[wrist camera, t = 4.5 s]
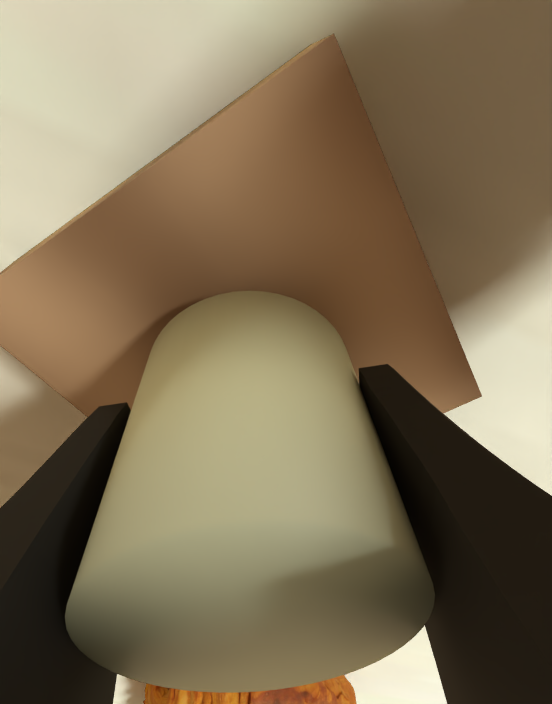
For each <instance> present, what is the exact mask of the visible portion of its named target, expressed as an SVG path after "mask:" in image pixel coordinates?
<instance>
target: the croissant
mask: <svg viewBox="0 0 552 704" xmlns="http://www.w3.org/2000/svg"><path fill="white" fill-rule="evenodd" d="M145 693H146V694H145V698H146V699H145V701H143V703H144V704H356V698H355V692H354V689H353V687H352V686H351V683H350V682H349V681H348V680H347V679H346V678H345V676H344V675H341V676H338V677H335V678H332V679H328V680H324V681H320V682H316V683H312V684H307V685H302V686H296V687H290V688H283V689H277V690H267V691H256V692H221V693H219V692H199V691H188V690H179V689H173V688H166V687H161V686H156V685H152V684H147V683H146V688H145Z"/></svg>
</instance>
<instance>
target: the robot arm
mask: <svg viewBox="0 0 552 704" xmlns="http://www.w3.org/2000/svg"><path fill="white" fill-rule="evenodd" d="M359 386H360V388H361V391H362V394H363V396H364V399H365V402H366V405H367V407H368V410H369V413H370V415H371V418H372V421H373V423H374V426H375V428H376V431H377V434H378V436H379V439H380V442H381V444H382V447H383V450H384V453H385V455H386V458H387V461H388V463H389V466H390V469H391V471H392V474H393V477H394V480H395V482H396V485H397V488H398V490H399V493H400V496H401V499H402V501H403V504H404V507H405V509H406V512H407V515H408V517H409V520H410V523H411V526H412V528H413V531H414V534H415V536H416V539H417V542H418V545H419V547H420V550H421V553H422V555H423V558H424V561H425V564H426V566H427V569H428V572H429V574H430V577H431V580H432V582H433V587H434V592H435V600H434V607H433V610H432V612H431V615H430V617H429V619H428V620H427V622H426V623H425V627H426V631H427V634H428V637H429V641H430V644H431V648H432V651H433V655H434V658H435V661H436V665H437V668H438V672H439V675H440V679H441V683H442V686H443V690H444V693H445V697H446V700H447V704H552V496H551V495H550V494H548V493H547V492H545V491H544V490H542V489H541V488H539V487H538V486H536V485H535V484H533V483H532V482H531V481H529V480H528V479H526V478H525V477H523V476H522V475H521V474H519V473H518V472H517V471H515V470H514V469H512V468H511V467H510V466H508V465H507V464H506V463H504V462H503V461H502V460H500V459H499V458H498V457H496V456H495V455H494V454H492V453H491V452H490V451H488V450H487V449H486V448H485V447H483V446H482V445H481V444H479V443H478V442H477V441H476V440H474V439H473V438H472V437H471V436H469V435H468V434H467V433H466V432H465V431H463V430H462V429H461V428H460V427H459V426H457V425H456V424H455V423H454V422H453V421H451V420H450V419H449V418H448V417H447V416H445V415H444V414H443V413H442V412H441V411H440V410H438V409H437V408H436V407H435V406H434V405H433V404H432V403H430V402H429V401H428V400H427V399H426V398H425V397H424V396H423V395H422V394H420V393H419V392H418V391H417V390H416V389H415V388H414V387H413V386H412V385H411V384H410V383H408V382H407V381H406V380H405V379H404V378H403V377H402V376H401V375H400V374H399V373H398V372H397V371H396V370H395V369H394V368H392V367H391V366H390V365H389V364H383V365H377V366H370V367H363V368H359ZM130 412H131V410H130V407H129V405H128V403H127V402H125V403H118V404H112V405H105V406H99V407H98V408H97V409H96V410H95V411H94V412H93V413H92V414H91V415H90V416H89V417H88V418H87V419H86V420H85V421H84V422H83V423H82V424H81V425H80V426H79V427H78V428H77V429H76V430H75V431H74V432H73V433H72V435H71V436H70V437H69V438H68V439H67V440H66V441H65V442H64V443H63V444H62V445H61V446H60V447H59V448H58V449H57V451H56V452H55V453H54V454H53V455H52V456H51V457H50V458H49V459H48V460H47V461H46V462H45V463H44V464H43V465H42V466H41V467H40V468H39V469H38V471H37V472H36V473H35V474H34V475H33V476H32V477H31V478H30V479H29V480H28V481H27V482H26V483H25V484H24V485H23V486H22V487H21V488H20V489H19V490H18V491H17V492H16V493H15V494H14V495H13V496H12V497H11V498H10V499H9V500H8V501H7V502H6V503H5V504H4V505H3V506H2V507H1V508H0V704H113V698H114V691H115V684H116V677H117V673H114V672H112V671H110V670H108V669H106V668H104V667H102V666H100V665H99V664H97V663H96V662H94V661H93V660H91V659H89V658H88V657H87V656H86V655H85V654H84V653H83V652H81V651H80V650H79V649H78V647H77V646H76V645H75V644H74V642H73V641H72V640H71V638H70V636H69V633H68V631H67V629H66V622H65V613H66V607H67V603H68V600H69V597H70V594H71V591H72V588H73V585H74V582H75V579H76V576H77V573H78V570H79V567H80V564H81V561H82V557H83V554H84V551H85V548H86V545H87V542H88V539H89V536H90V533H91V530H92V527H93V524H94V521H95V518H96V515H97V512H98V509H99V506H100V503H101V500H102V497H103V494H104V491H105V488H106V485H107V482H108V479H109V476H110V473H111V470H112V467H113V464H114V461H115V458H116V455H117V452H118V449H119V446H120V443H121V439H122V436H123V433H124V430H125V427H126V424H127V421H128V418H129V415H130Z"/></svg>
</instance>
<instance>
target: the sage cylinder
mask: <svg viewBox="0 0 552 704" xmlns="http://www.w3.org/2000/svg"><path fill="white" fill-rule="evenodd" d="M434 600H435V592H434V587H433V582H432V580H431V577H430V574H429V572H428V569H427V566H426V564H425V561H424V558H423V555H422V553H421V550H420V547H419V545H418V542H417V539H416V536H415V534H414V531H413V528H412V526H411V523H410V520H409V517H408V515H407V512H406V509H405V507H404V504H403V501H402V499H401V496H400V493H399V490H398V488H397V485H396V482H395V480H394V477H393V474H392V471H391V469H390V466H389V463H388V461H387V458H386V455H385V453H384V450H383V447H382V444H381V442H380V439H379V436H378V434H377V431H376V428H375V426H374V423H373V421H372V418H371V415H370V413H369V410H368V407H367V405H366V402H365V399H364V396H363V394H362V391H361V388H360V386H359V382H358V379H357V377H356V374H355V371H354V369H353V366H352V363H351V360H350V358H349V355H348V352H347V350H346V347H345V345H344V343H343V340H342V338H341V337H340V335H339V334H338V332H337V331H336V329H335V328H334V327H333V325H332V324H331V323H330V322H329V321H328V320H327V319H326V318H325V317H324V316H322V315H321V314H320V313H319V312H318V311H316V310H315V309H313V308H311V307H310V306H308V305H306V304H305V303H302V302H300V301H298V300H296V299H293V298H290V297H287V296H284V295H280V294H276V293H270V292H264V291H237V292H229V293H224V294H219V295H216V296H213V297H209V298H206V299H204V300H202V301H199V302H197V303H195V304H193V305H191V306H189V307H188V308H186V309H185V310H183V311H182V312H180V313H179V314H178V315H176V316H175V317H174V318H173V319H172V320H171V321H170V322H169V323H168V324H167V325H166V326H165V327H164V328H163V330H162V331H161V332H160V334H159V335H158V337H157V339H156V340H155V342H154V345H153V347H152V349H151V352H150V355H149V358H148V361H147V364H146V367H145V370H144V373H143V376H142V379H141V382H140V385H139V388H138V391H137V394H136V397H135V400H134V403H133V406H132V409H131V412H130V415H129V418H128V421H127V424H126V427H125V430H124V433H123V436H122V439H121V443H120V446H119V449H118V452H117V455H116V458H115V461H114V464H113V467H112V470H111V473H110V476H109V479H108V482H107V485H106V488H105V491H104V494H103V497H102V500H101V503H100V506H99V509H98V512H97V515H96V518H95V521H94V524H93V527H92V530H91V533H90V536H89V539H88V542H87V545H86V548H85V551H84V554H83V557H82V561H81V564H80V567H79V570H78V573H77V576H76V579H75V582H74V585H73V588H72V591H71V594H70V597H69V600H68V603H67V607H66V613H65V622H66V629H67V631H68V633H69V636H70V638H71V640H72V641H73V642H74V644H75V645H76V646H77V647H78V649H79V650H80V651H81V652H83V653H84V654H85V655H86V656H87V657H88V658H89V659H91V660H93V661H94V662H96V663H97V664H99V665H100V666H102V667H104V668H106V669H108V670H110V671H112V672H114V673H117V674H119V675H122V676H125V677H127V678H130V679H133V680H137V681H140V682H144V683H147V684H152V685H156V686H161V687H166V688H173V689H179V690H188V691H199V692H219V693H221V692H256V691H267V690H277V689H283V688H290V687H296V686H302V685H307V684H312V683H316V682H320V681H324V680H328V679H332V678H335V677H338V676H341V675H345V674H348V673H350V672H353V671H356V670H358V669H361V668H364V667H366V666H368V665H370V664H372V663H375V662H377V661H379V660H381V659H383V658H384V657H386V656H388V655H390V654H392V653H393V652H395V651H396V650H398V649H399V648H401V647H402V646H404V645H405V644H406V643H407V642H408V641H410V640H411V639H412V638H413V637H414V636H415V635H416V634H417V633H418V632H419V631H420V630H421V629H422V628H423V627H424V625H425V623H426V622H427V620H428V619H429V617H430V615H431V612H432V610H433V607H434Z"/></svg>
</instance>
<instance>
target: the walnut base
mask: <svg viewBox="0 0 552 704" xmlns="http://www.w3.org/2000/svg"><path fill="white" fill-rule="evenodd" d="M237 291H264V292H270V293H276V294H280V295H284V296H287V297H290V298H293V299H296V300H298V301H300V302H302V303H305V304H306V305H308V306H310V307H311V308H313V309H315V310H316V311H318V312H319V313H320V314H321V315H322V316H324V317H325V318H326V319H327V320H328V321H329V322H330V323H331V324H332V325H333V327H334V328H335V329H336V331H337V332H338V334H339V335H340V337H341V338H342V340H343V343H344V345H345V347H346V350H347V352H348V355H349V358H350V360H351V363H352V366H353V369H354V371H355V374H356V377H357V379H358V382H359V368H363V367H370V366H377V365H383V364H389V365H390V366H391V367H392V368H394V369H395V370H396V371H397V372H398V373H399V374H400V375H401V376H402V377H403V378H404V379H405V380H406V381H407V382H408V383H410V384H411V385H412V386H413V387H414V388H415V389H416V390H417V391H418V392H419V393H420V394H422V395H423V396H424V397H425V398H426V399H427V400H428V401H429V402H430V403H432V404H433V405H434V406H435V407H436V408H437V409H438V410H440V411H441V412H442V413H445V412H447V411H450V410H452V409H454V408H457V407H459V406H461V405H463V404H466V403H468V402H470V401H472V400H475V399H477V398H479V397H481V396H482V395H481V393H480V390H479V388H478V385H477V383H476V380H475V378H474V376H473V373H472V371H471V368H470V366H469V363H468V361H467V358H466V356H465V354H464V351H463V349H462V346H461V344H460V341H459V339H458V336H457V334H456V331H455V329H454V327H453V324H452V322H451V319H450V317H449V314H448V312H447V309H446V307H445V305H444V302H443V300H442V297H441V295H440V292H439V290H438V287H437V285H436V282H435V280H434V278H433V275H432V273H431V270H430V268H429V265H428V263H427V260H426V258H425V256H424V253H423V251H422V248H421V246H420V243H419V241H418V238H417V236H416V233H415V231H414V229H413V226H412V224H411V221H410V219H409V216H408V214H407V211H406V209H405V207H404V204H403V202H402V199H401V197H400V194H399V192H398V189H397V187H396V184H395V182H394V180H393V177H392V175H391V172H390V170H389V167H388V165H387V162H386V160H385V158H384V155H383V153H382V150H381V148H380V145H379V143H378V140H377V138H376V135H375V133H374V131H373V128H372V126H371V123H370V121H369V118H368V116H367V113H366V111H365V109H364V106H363V104H362V101H361V99H360V96H359V94H358V91H357V89H356V86H355V84H354V82H353V79H352V77H351V74H350V72H349V69H348V67H347V64H346V62H345V60H344V57H343V55H342V52H341V50H340V47H339V45H338V42H337V40H336V37H335V35H334V34H332V35H330V36H328V37H326V38H324V39H322V40H320V41H318V42H315V43H313V44H311V45H310V46H308V47H307V48H306V49H304V50H303V51H302V52H300V53H299V54H297V55H296V56H295V57H293V58H292V59H291V60H289V61H288V62H287V63H285V64H284V65H282V66H281V67H280V68H278V69H277V70H276V71H274V72H273V73H271V74H270V75H269V76H267V77H266V78H265V79H263V80H262V81H261V82H259V83H258V84H256V85H255V86H254V87H252V88H251V89H250V90H248V91H247V92H245V93H244V94H243V95H241V96H240V97H239V98H237V99H236V100H235V101H233V102H232V103H230V104H229V105H228V106H226V107H225V108H224V109H222V110H221V111H220V112H218V113H217V114H215V115H214V116H213V117H211V118H210V119H209V120H207V121H206V122H204V123H203V124H202V125H200V126H199V127H198V128H196V129H195V130H194V131H192V132H191V133H189V134H188V135H187V136H185V137H184V138H183V139H181V140H180V141H178V142H177V143H176V144H174V145H173V146H172V147H170V148H169V149H168V150H166V151H165V152H163V153H162V154H161V155H159V156H158V157H157V158H155V159H154V160H152V161H151V162H150V163H148V164H147V165H146V166H144V167H143V168H142V169H140V170H139V171H137V172H136V173H135V174H133V175H132V176H131V177H129V178H128V179H126V180H125V181H124V182H122V183H121V184H120V185H118V186H117V187H116V188H114V189H113V190H111V191H110V192H109V193H107V194H106V195H105V196H103V197H102V198H100V199H99V200H98V201H96V202H95V203H94V204H92V205H91V206H90V207H88V208H87V209H85V210H84V211H83V212H81V213H80V214H79V215H77V216H76V217H74V218H73V219H72V220H70V221H69V222H68V223H66V224H65V225H64V226H62V227H61V228H59V229H58V230H57V231H55V232H54V233H53V234H51V235H50V236H48V237H47V238H46V239H44V240H43V241H42V242H40V243H39V244H38V245H36V246H35V247H33V248H32V249H31V250H29V251H28V252H27V253H25V254H24V255H22V256H21V257H20V258H18V259H17V260H16V261H14V262H13V263H12V264H11V265H9V266H8V267H7V268H6V269H4V270H3V271H2V272H1V273H0V346H2V347H3V348H4V349H5V350H7V351H8V352H9V353H10V354H11V355H13V356H14V357H15V358H16V359H18V360H19V361H20V362H21V363H22V364H24V365H25V366H26V367H27V368H29V369H30V370H31V371H32V372H33V373H35V374H36V375H37V376H38V377H39V378H41V379H42V380H43V381H44V382H46V383H47V384H48V385H49V386H50V387H52V388H53V389H54V390H55V391H57V392H58V393H59V394H60V395H61V396H63V397H64V398H65V399H66V400H68V401H69V402H70V403H71V404H72V405H74V406H75V407H76V408H77V409H78V410H80V411H81V412H82V413H83V414H85V415H86V416H87V417H89V416H90V415H91V414H92V413H93V412H94V411H95V410H96V409H97V408H98V407H99V406H105V405H112V404H118V403H125V402H127V403H128V405H129V407H130V410H131V409H132V406H133V403H134V400H135V397H136V394H137V391H138V388H139V385H140V382H141V379H142V376H143V373H144V370H145V367H146V364H147V361H148V358H149V355H150V352H151V349H152V347H153V345H154V342H155V340H156V339H157V337H158V335H159V334H160V332H161V331H162V330H163V328H164V327H165V326H166V325H167V324H168V323H169V322H170V321H171V320H172V319H173V318H174V317H175V316H176V315H178V314H179V313H180V312H182V311H183V310H185V309H186V308H188V307H189V306H191V305H193V304H195V303H197V302H199V301H202V300H204V299H206V298H209V297H213V296H216V295H219V294H224V293H229V292H237Z"/></svg>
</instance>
